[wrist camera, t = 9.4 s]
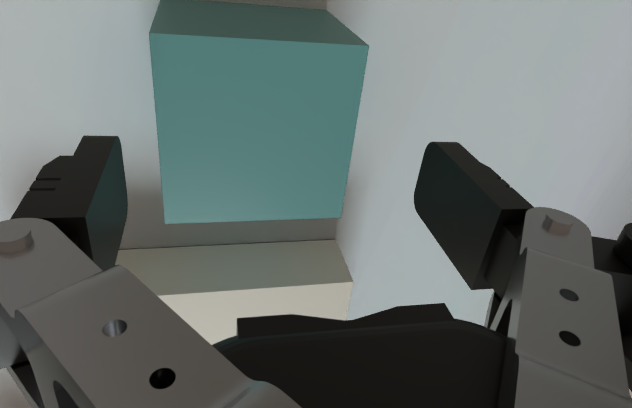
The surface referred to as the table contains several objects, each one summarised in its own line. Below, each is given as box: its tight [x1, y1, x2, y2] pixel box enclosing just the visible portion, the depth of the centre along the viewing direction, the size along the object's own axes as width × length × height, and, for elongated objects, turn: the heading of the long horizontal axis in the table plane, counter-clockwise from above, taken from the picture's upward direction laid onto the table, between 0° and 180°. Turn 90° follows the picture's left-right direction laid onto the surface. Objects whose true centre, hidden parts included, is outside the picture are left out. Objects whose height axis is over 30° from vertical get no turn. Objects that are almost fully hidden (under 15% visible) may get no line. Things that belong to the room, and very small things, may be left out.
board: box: [115, 240, 353, 345], centre depth 23 cm, size 13×13×3 cm
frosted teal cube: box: [149, 0, 369, 224], centre depth 15 cm, size 6×6×5 cm
